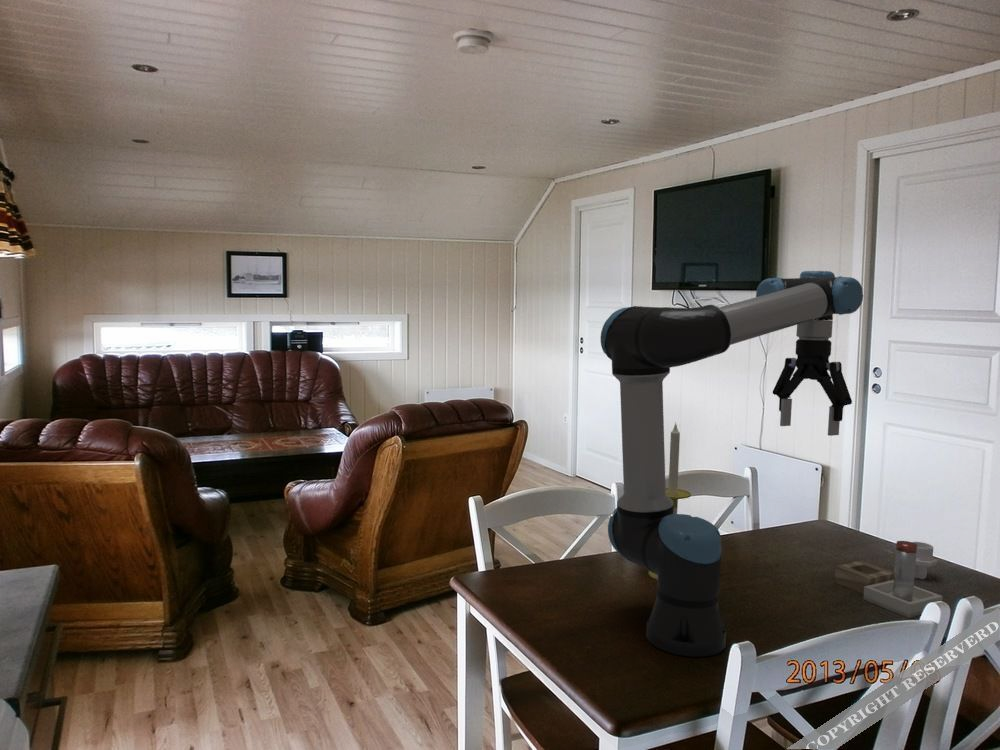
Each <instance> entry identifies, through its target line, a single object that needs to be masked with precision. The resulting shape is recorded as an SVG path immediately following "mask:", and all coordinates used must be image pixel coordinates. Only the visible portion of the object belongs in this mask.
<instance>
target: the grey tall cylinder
mask: <svg viewBox="0 0 1000 750" xmlns="http://www.w3.org/2000/svg"><path fill="white" fill-rule="evenodd" d="M912 542H913V541H908V540H897V541H896V542H895V543H896V544H895V557H894V558H895V559H894V569H893V570H894V571H893V572H894V581H893V593H892V596H895V597H897V598H900V599H902V600H905V601H908V602H911V601H913V590H914V586H915V579H916V578H915V566H916V554H917V544H915V543H912Z"/></svg>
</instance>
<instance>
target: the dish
mask: <svg viewBox="0 0 1000 750" xmlns="http://www.w3.org/2000/svg"><path fill="white" fill-rule="evenodd" d="M893 581H894V580H891V581H886V582H882V583H878V584H873V585H869V586H864V594H863V600H864V601H866V602H869V603H871V604H873V605H875V606H879V607H880V608H883V609H886V610H889V611H891V612H893V613H895V614H897V615H900V616H903V617H905V618H907V619H911V618H916V617H919V616H921V615H920V614H921V612H922V610H923V608H924V607H925V605H926V604H927V603H929V602H933V601H942V602H943V599H944V597H943V595H940V594H938V593H935V592H932V591H930V590H926V589H925V588H922V587H919V586H916V585H914V590H913V601H911V602H908V601H905V600H902V599H900V598H897V597H895V596H892V593H893Z"/></svg>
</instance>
